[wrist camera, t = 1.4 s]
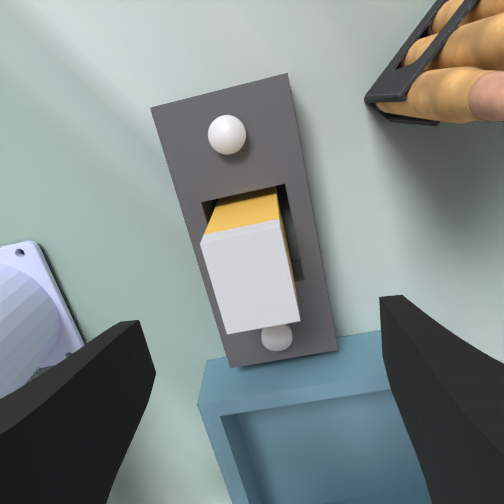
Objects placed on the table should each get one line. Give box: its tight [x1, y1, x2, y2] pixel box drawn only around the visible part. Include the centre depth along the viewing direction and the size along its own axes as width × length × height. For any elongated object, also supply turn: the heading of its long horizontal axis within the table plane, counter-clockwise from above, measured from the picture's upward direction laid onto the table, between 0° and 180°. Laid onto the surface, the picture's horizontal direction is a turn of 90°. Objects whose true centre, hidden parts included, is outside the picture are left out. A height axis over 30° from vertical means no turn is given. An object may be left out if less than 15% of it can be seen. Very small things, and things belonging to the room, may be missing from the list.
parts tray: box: [197, 330, 432, 504], centre depth 25 cm, size 14×14×4 cm
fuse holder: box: [150, 73, 338, 368], centre depth 20 cm, size 6×14×3 cm, turn 13°
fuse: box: [200, 186, 300, 334], centre depth 18 cm, size 3×4×7 cm
